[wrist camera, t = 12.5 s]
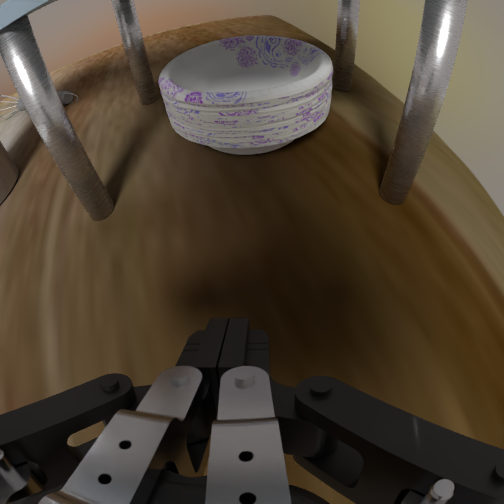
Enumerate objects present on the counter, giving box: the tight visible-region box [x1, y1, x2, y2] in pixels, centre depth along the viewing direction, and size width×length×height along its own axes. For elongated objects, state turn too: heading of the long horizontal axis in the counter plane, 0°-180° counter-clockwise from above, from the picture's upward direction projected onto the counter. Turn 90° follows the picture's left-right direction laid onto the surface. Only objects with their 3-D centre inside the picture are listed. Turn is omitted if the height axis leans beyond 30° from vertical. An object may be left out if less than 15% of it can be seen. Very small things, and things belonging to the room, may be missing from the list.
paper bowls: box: [158, 35, 333, 155], centre depth 25 cm, size 15×15×8 cm
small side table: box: [0, 0, 467, 221], centre depth 20 cm, size 22×27×20 cm
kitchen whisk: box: [0, 90, 78, 120], centre depth 39 cm, size 6×34×6 cm, turn 76°
